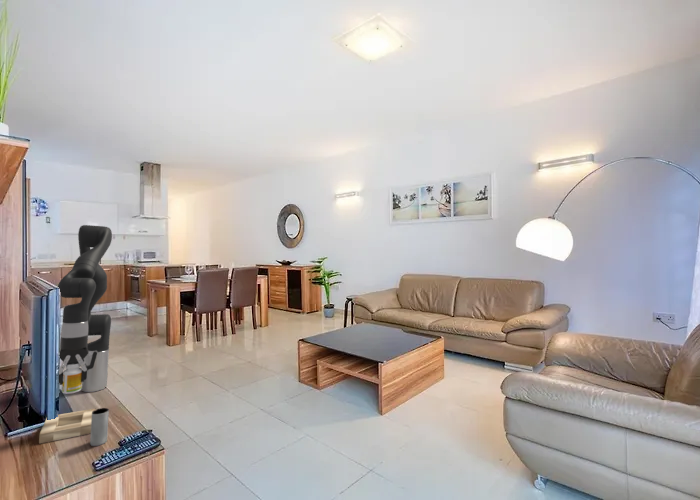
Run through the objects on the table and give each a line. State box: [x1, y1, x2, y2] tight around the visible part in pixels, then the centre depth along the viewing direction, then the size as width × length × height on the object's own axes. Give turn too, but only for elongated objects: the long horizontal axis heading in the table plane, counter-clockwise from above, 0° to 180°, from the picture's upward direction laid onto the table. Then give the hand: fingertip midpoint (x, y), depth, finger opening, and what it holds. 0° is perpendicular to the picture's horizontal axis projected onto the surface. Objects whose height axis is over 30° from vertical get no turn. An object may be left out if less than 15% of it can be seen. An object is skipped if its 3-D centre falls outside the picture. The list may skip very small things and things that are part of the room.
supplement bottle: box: [61, 363, 82, 395], centre depth 122 cm, size 5×5×10 cm
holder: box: [38, 408, 97, 444], centre depth 122 cm, size 14×14×3 cm
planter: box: [89, 407, 110, 447], centre depth 114 cm, size 4×4×10 cm
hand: (72, 382), depth 122 cm, fingers closed on supplement bottle, 5 cm apart
